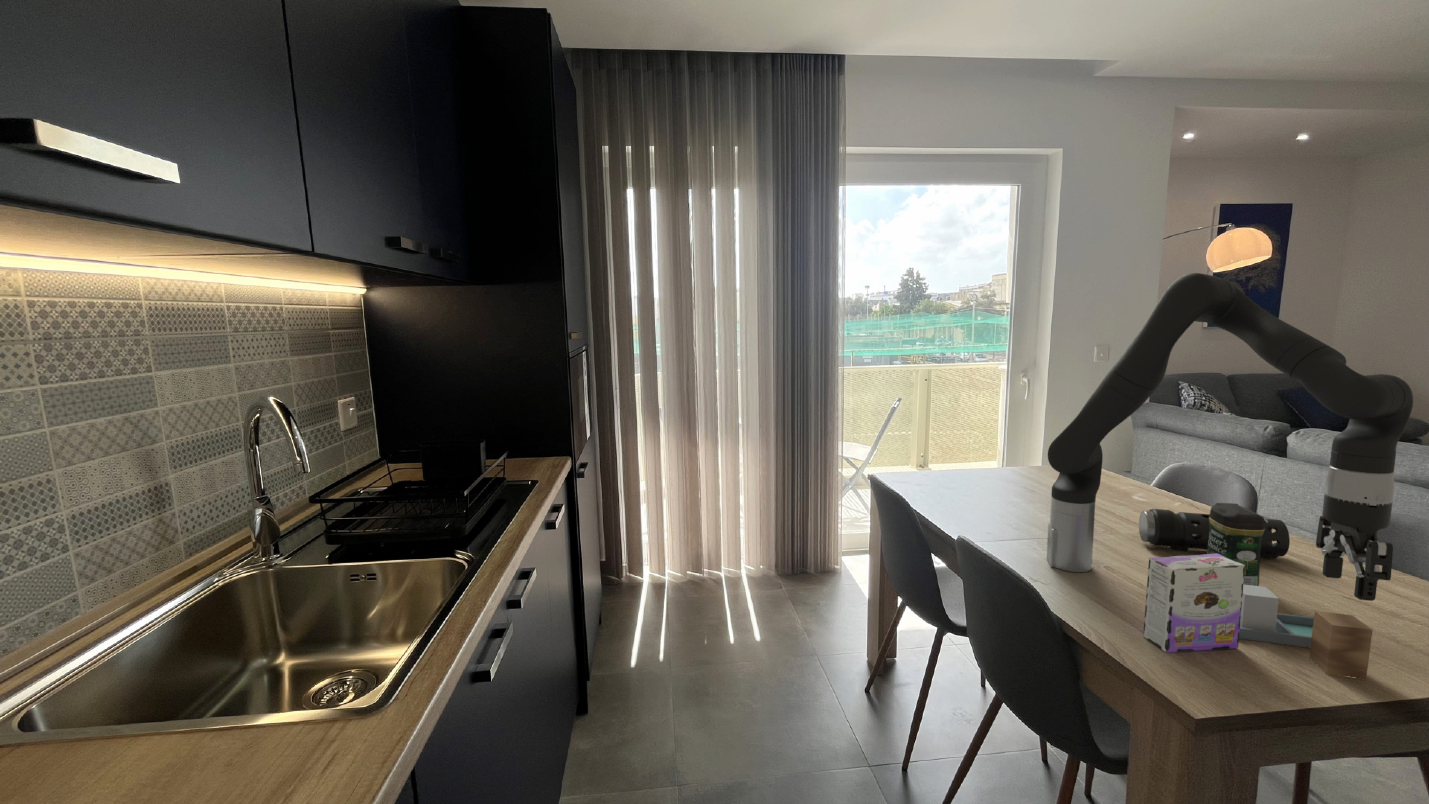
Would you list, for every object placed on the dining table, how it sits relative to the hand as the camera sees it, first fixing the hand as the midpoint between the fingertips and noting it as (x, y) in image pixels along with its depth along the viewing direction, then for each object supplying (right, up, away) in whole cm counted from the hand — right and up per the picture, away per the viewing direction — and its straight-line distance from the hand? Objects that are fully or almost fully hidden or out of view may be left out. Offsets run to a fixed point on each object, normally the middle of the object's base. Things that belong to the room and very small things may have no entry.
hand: (1347, 587), depth 97 cm
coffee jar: (+10, -10, +33) cm, 35 cm away
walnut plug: (0, -15, +2) cm, 15 cm away
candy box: (-17, -14, +11) cm, 25 cm away
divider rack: (+2, -13, +13) cm, 19 cm away
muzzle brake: (+20, -8, +51) cm, 55 cm away
